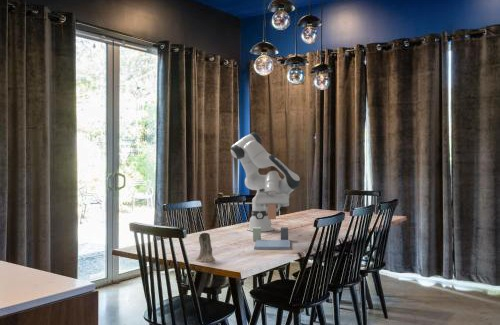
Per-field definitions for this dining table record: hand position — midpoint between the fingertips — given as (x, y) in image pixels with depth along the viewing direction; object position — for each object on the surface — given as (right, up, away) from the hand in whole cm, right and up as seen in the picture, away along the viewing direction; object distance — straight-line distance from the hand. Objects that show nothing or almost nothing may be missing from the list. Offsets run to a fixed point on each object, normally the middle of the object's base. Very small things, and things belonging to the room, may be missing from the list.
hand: (271, 211), depth 255 cm
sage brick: (-8, -20, +17) cm, 27 cm away
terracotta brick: (0, -4, +1) cm, 4 cm away
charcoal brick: (+9, -20, +16) cm, 27 cm away
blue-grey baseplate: (0, -20, +1) cm, 20 cm away
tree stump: (-35, -21, -31) cm, 52 cm away
